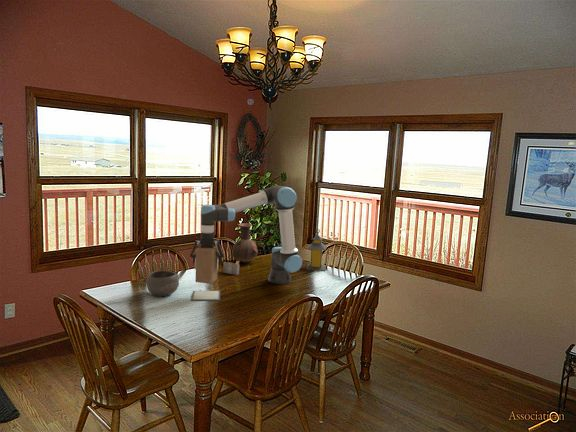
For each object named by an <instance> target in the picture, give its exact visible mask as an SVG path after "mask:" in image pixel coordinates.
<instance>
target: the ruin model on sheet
mask: <svg viewBox="0 0 576 432" xmlns="http://www.w3.org/2000/svg"><path fill="white" fill-rule="evenodd" d="M222 265H223V266H222V273H223V274H229V275H235V276H238V275H240V261H239V260H236V261H235V263H234V262H228V261H227V262H226V261H224V262H223V263H222Z"/></svg>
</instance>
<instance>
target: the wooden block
mask: <svg viewBox="0 0 576 432" xmlns="http://www.w3.org/2000/svg"><path fill="white" fill-rule="evenodd" d="M213 246H214V245H213ZM200 247H201V246H199V247H196V248H195V253H196V269H195V283H198V284H199V283H200V284H213V283H215V281H217V280H218V270H217V255H216V251H217V252H218V253H219V249H218V246H216V245H215V246H214V248H200Z"/></svg>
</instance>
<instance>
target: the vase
mask: <svg viewBox="0 0 576 432" xmlns="http://www.w3.org/2000/svg"><path fill="white" fill-rule="evenodd" d="M237 226H238V227H239V228H240V238H239V239H238V240H237V241H236V242H235V243H234V245H232V247H231V248H232V249H231V251H232V252H231V256H232V258H233V259H235V260H236V261H239V262H241V263H244V264H245V263H247V262H250V261H253V259H255V258H257V256H258V255H259V251H258V247H257V246H258V245H257V244H256V242H254V241H253V240H252V239H251V236H250V231H251V230H250V229H251V227H253V224H252V223H249V222H246V223H245V222H244V223H243V222H241V223H238V224H237Z"/></svg>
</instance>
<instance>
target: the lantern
mask: <svg viewBox="0 0 576 432" xmlns="http://www.w3.org/2000/svg"><path fill="white" fill-rule="evenodd" d="M315 232H316V235H315V236H314V237H313V238H312V241H313V242H312V243H310V244H309V245H308V246H307V250H310V264H309V263H308V264H307V265H306V267H305V270H306V271H313V272H315V271H316V272H326V267H327V266H326V265H323V251H327V246H326V245H325V244H324V243H323V242H322V241H323V238H322V237H321V236H320V235H319V233H320V232H321V230H320V229H318V228H316V230H315Z"/></svg>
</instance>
